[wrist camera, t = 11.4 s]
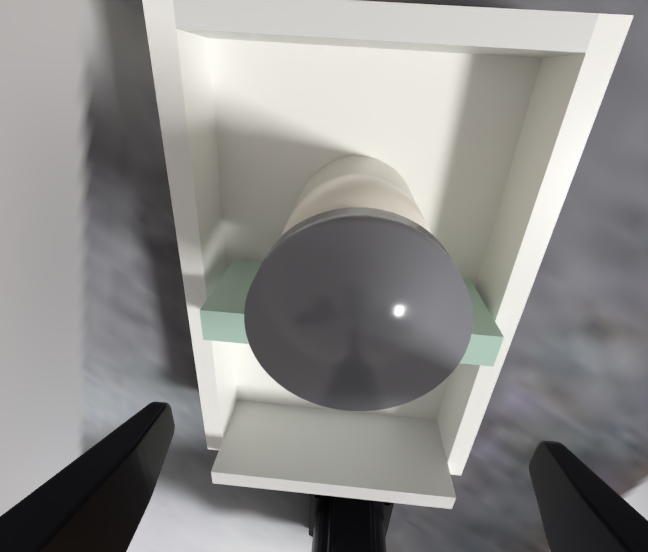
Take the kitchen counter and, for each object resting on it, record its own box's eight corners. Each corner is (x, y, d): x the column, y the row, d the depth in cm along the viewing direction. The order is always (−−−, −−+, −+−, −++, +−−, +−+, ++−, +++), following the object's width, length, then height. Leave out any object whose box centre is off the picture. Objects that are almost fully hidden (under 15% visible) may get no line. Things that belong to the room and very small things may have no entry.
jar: (406, 273, 19) (447, 419, 11) (294, 265, 19) (249, 401, 11) (427, 155, 16) (501, 233, 8) (295, 148, 16) (236, 215, 8)
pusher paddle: (456, 329, 20) (483, 395, 16) (237, 309, 20) (206, 368, 16) (470, 279, 18) (504, 336, 14) (233, 259, 19) (199, 310, 15)
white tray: (445, 419, 25) (470, 510, 20) (227, 398, 25) (194, 481, 20) (565, 31, 14) (688, 2, 9) (190, 10, 15) (101, -29, 10)
